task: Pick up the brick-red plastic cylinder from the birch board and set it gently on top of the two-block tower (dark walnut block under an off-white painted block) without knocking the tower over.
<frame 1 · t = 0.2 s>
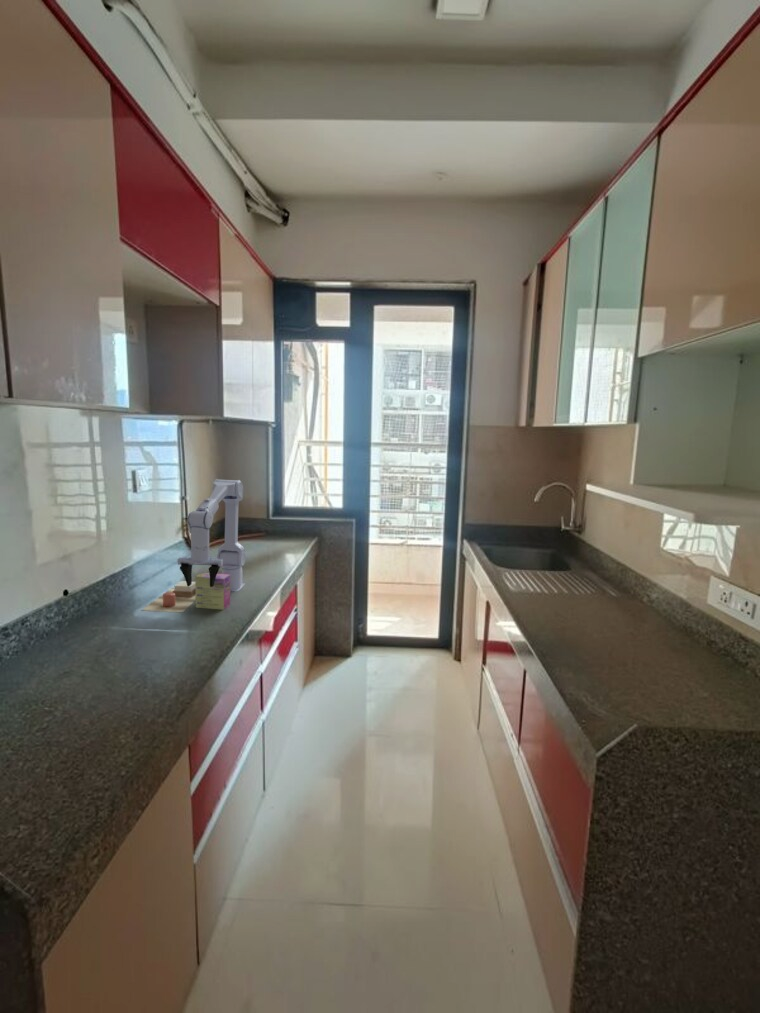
hand: (200, 585, 159), 10 cm above the counter, tool pointing down, fingers open, 7 cm apart
bottom block: (186, 593, 178), point 1 cm above the counter, touching board, top block
top block: (185, 588, 177), point 3 cm above the counter, touching bottom block
cylinder: (169, 605, 166), point 1 cm above the counter, touching board
board: (176, 600, 172), on the counter
box: (213, 607, 167), on the counter
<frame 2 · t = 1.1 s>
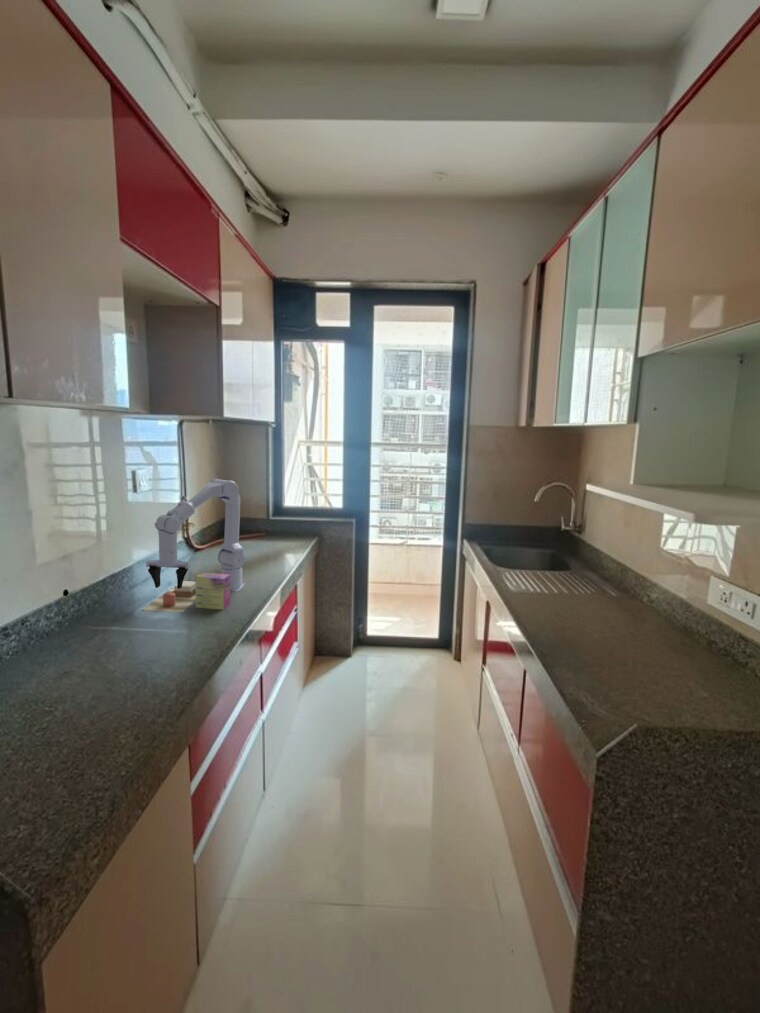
hand: (168, 587, 165), 7 cm above the counter, tool pointing down, fingers open, 7 cm apart
nothing on the counter moved.
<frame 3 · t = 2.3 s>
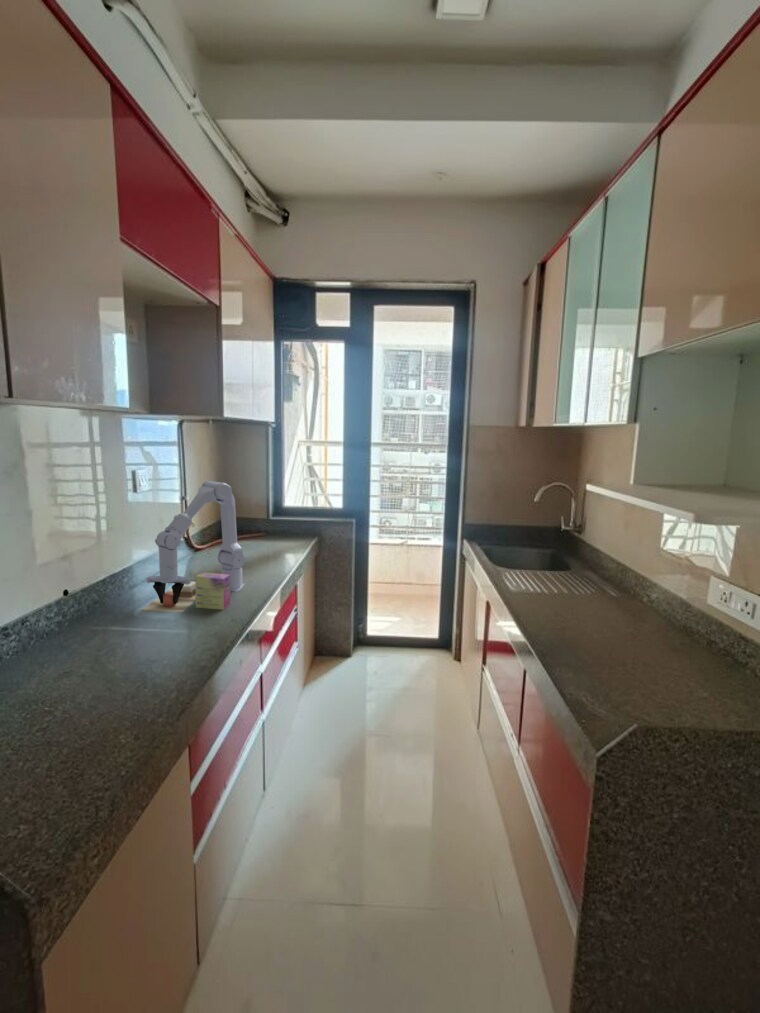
hand: (169, 602, 166), 1 cm above the counter, tool pointing down, fingers closed on cylinder, 4 cm apart
cylinder: (169, 605, 166), point 1 cm above the counter, touching board, gripper
everything else where it was.
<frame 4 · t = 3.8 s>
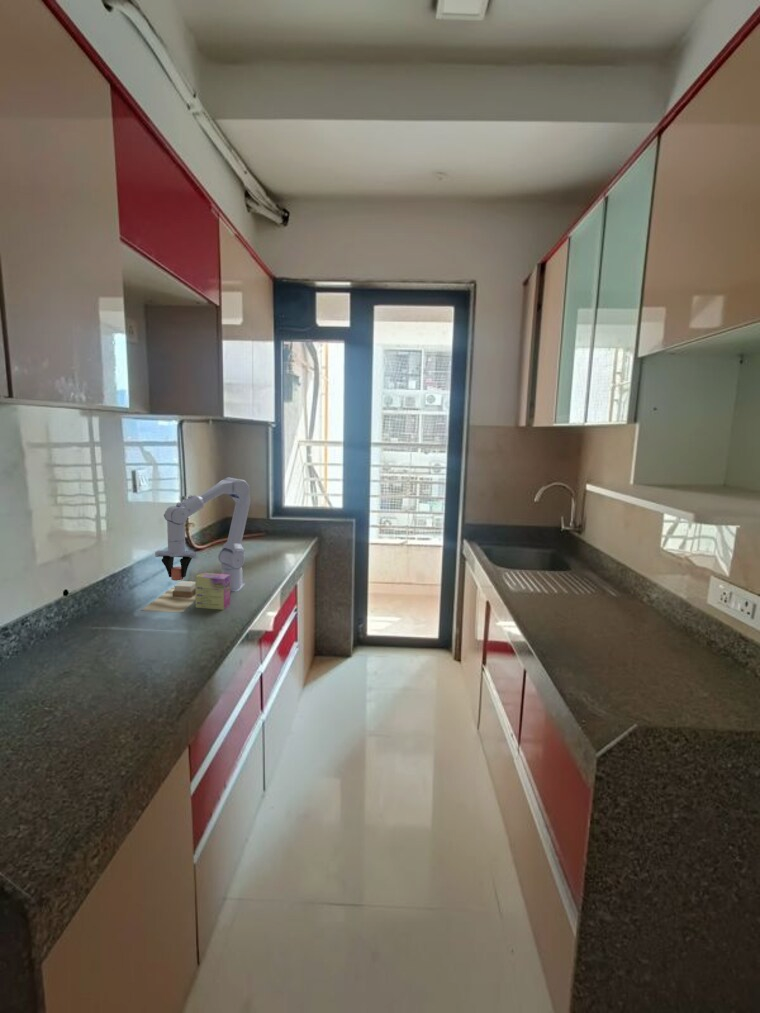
hand: (177, 576, 170), 9 cm above the counter, tool pointing down, fingers closed on cylinder, 4 cm apart
cylinder: (177, 578, 170), point 8 cm above the counter, touching gripper
everything else where it was.
when the fingers open (6 cm above the counter, at t = 5.3 s): cylinder stays where it is, resting on top block.
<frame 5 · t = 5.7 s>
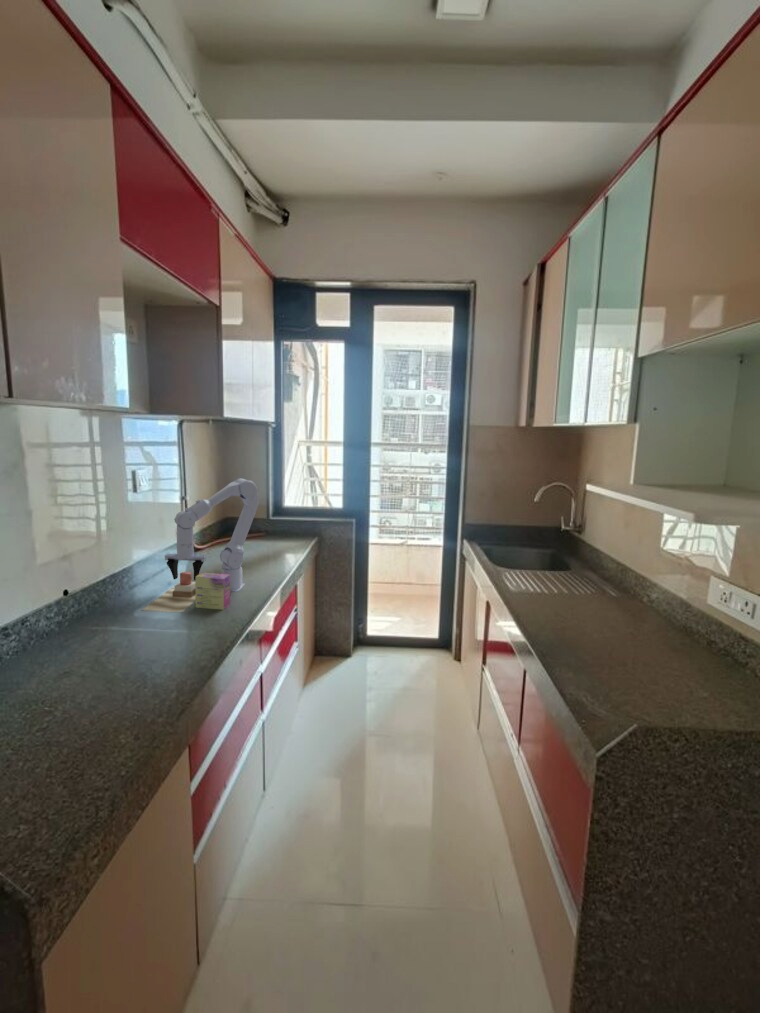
hand: (185, 579, 177), 6 cm above the counter, tool pointing down, fingers open, 7 cm apart
top block: (185, 588, 177), point 3 cm above the counter, touching bottom block, cylinder
cylinder: (185, 583, 177), point 5 cm above the counter, touching top block
everything else where it was.
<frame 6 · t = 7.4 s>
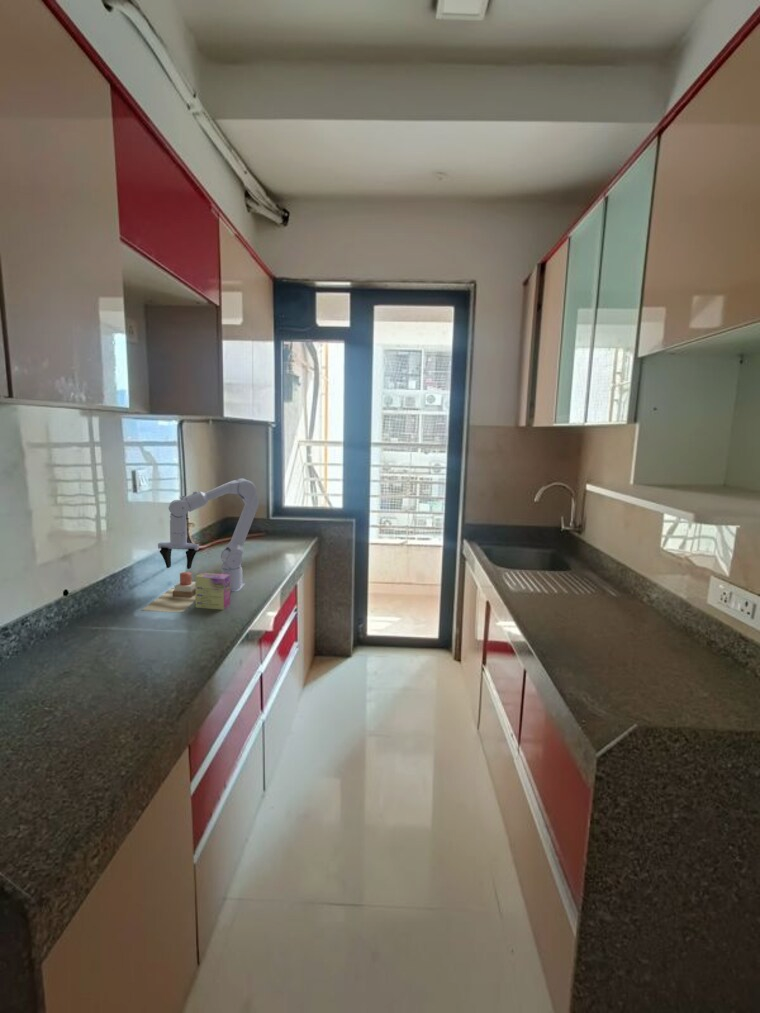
hand: (178, 567, 177), 10 cm above the counter, tool pointing down, fingers open, 7 cm apart
nothing on the counter moved.
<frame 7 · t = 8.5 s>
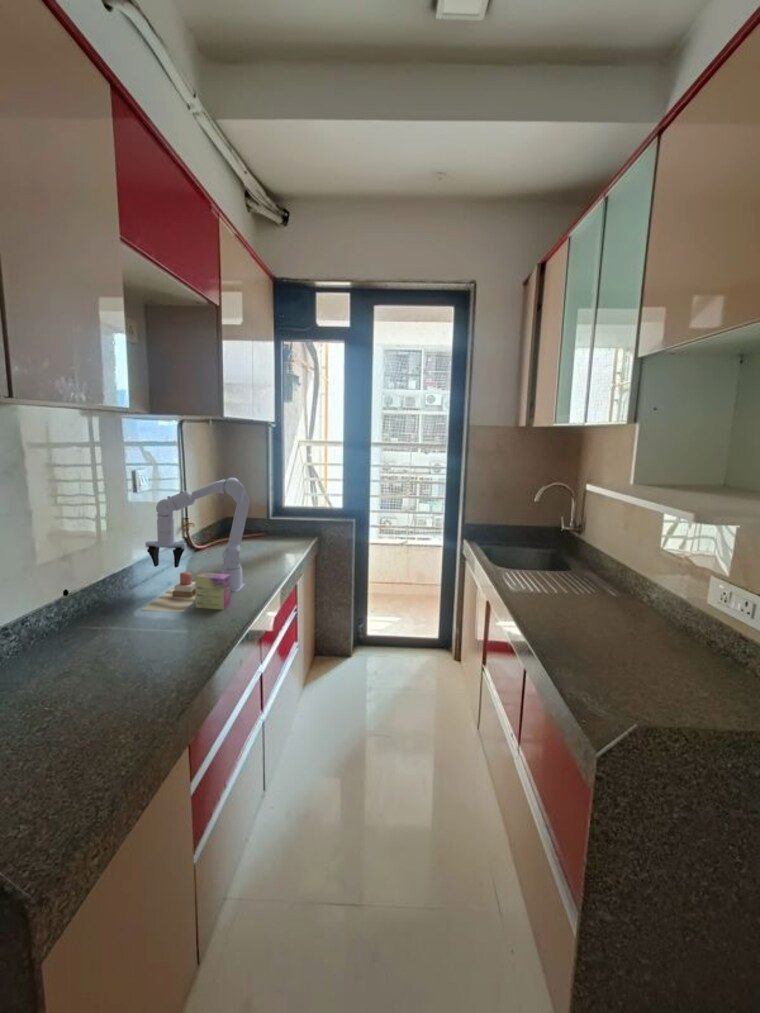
hand: (166, 566, 178), 10 cm above the counter, tool pointing down, fingers open, 7 cm apart
nothing on the counter moved.
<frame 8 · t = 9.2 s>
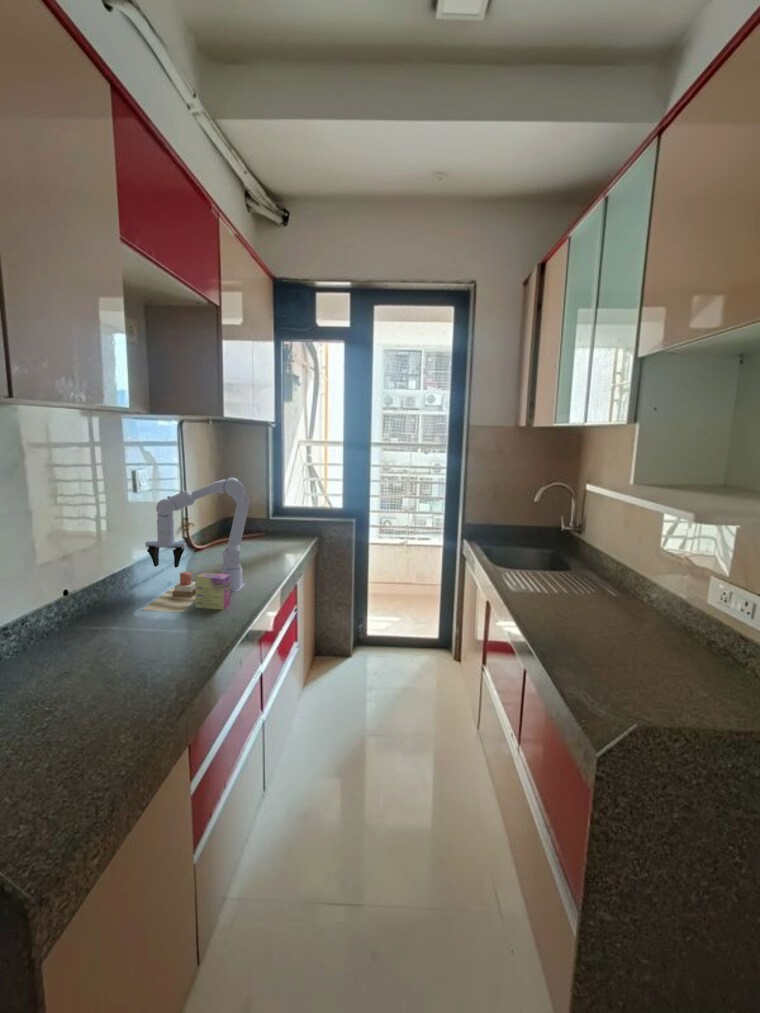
hand: (166, 566, 178), 10 cm above the counter, tool pointing down, fingers open, 7 cm apart
nothing on the counter moved.
at the end: cylinder 0.0 cm off-centre on the top block, point 2.0 cm above the top block's base; top block 0.0 cm off-centre on the bottom block, point 2.0 cm above the bottom block's base; bottom block moved 0.0 cm from its start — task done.
